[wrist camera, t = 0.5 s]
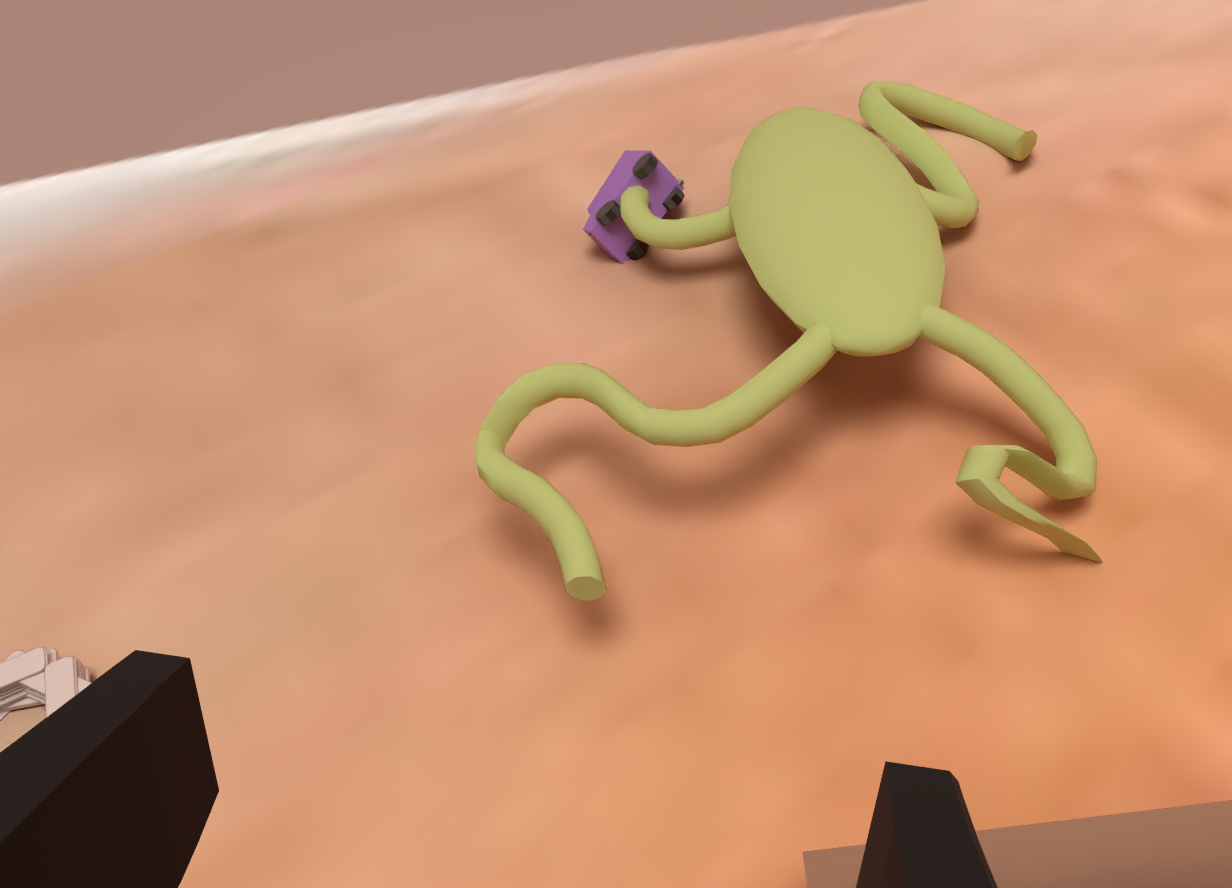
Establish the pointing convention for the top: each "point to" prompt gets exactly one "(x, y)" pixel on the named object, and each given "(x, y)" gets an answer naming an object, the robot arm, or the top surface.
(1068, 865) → the walnut board
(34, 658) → the l-shaped corner panel
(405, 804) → the top surface
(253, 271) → the top surface
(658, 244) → the figurine
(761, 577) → the top surface
